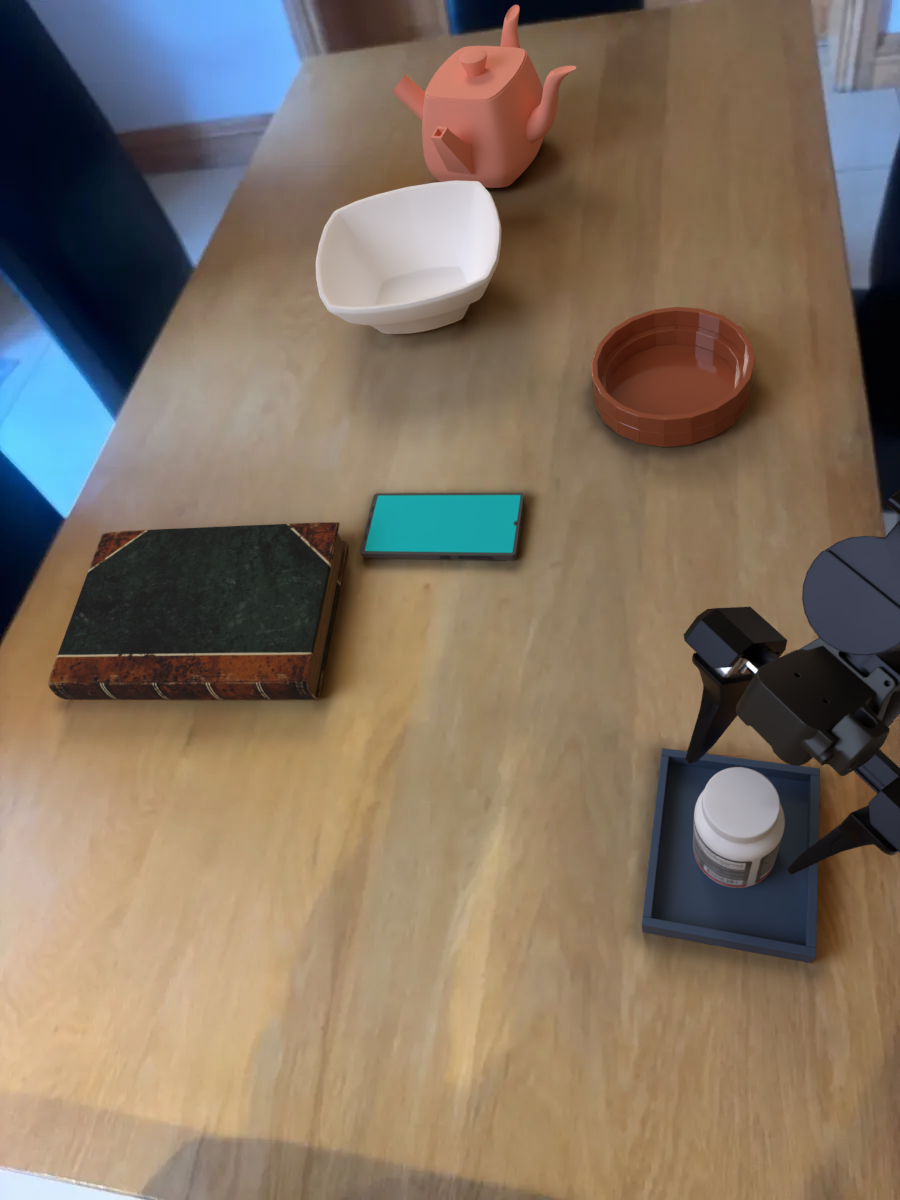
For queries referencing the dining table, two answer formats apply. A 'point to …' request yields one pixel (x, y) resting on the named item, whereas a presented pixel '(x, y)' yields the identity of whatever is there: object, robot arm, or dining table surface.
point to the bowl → (409, 256)
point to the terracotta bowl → (673, 376)
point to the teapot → (485, 111)
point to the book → (204, 615)
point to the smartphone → (444, 526)
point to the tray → (719, 913)
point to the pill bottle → (737, 827)
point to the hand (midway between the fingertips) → (738, 813)
